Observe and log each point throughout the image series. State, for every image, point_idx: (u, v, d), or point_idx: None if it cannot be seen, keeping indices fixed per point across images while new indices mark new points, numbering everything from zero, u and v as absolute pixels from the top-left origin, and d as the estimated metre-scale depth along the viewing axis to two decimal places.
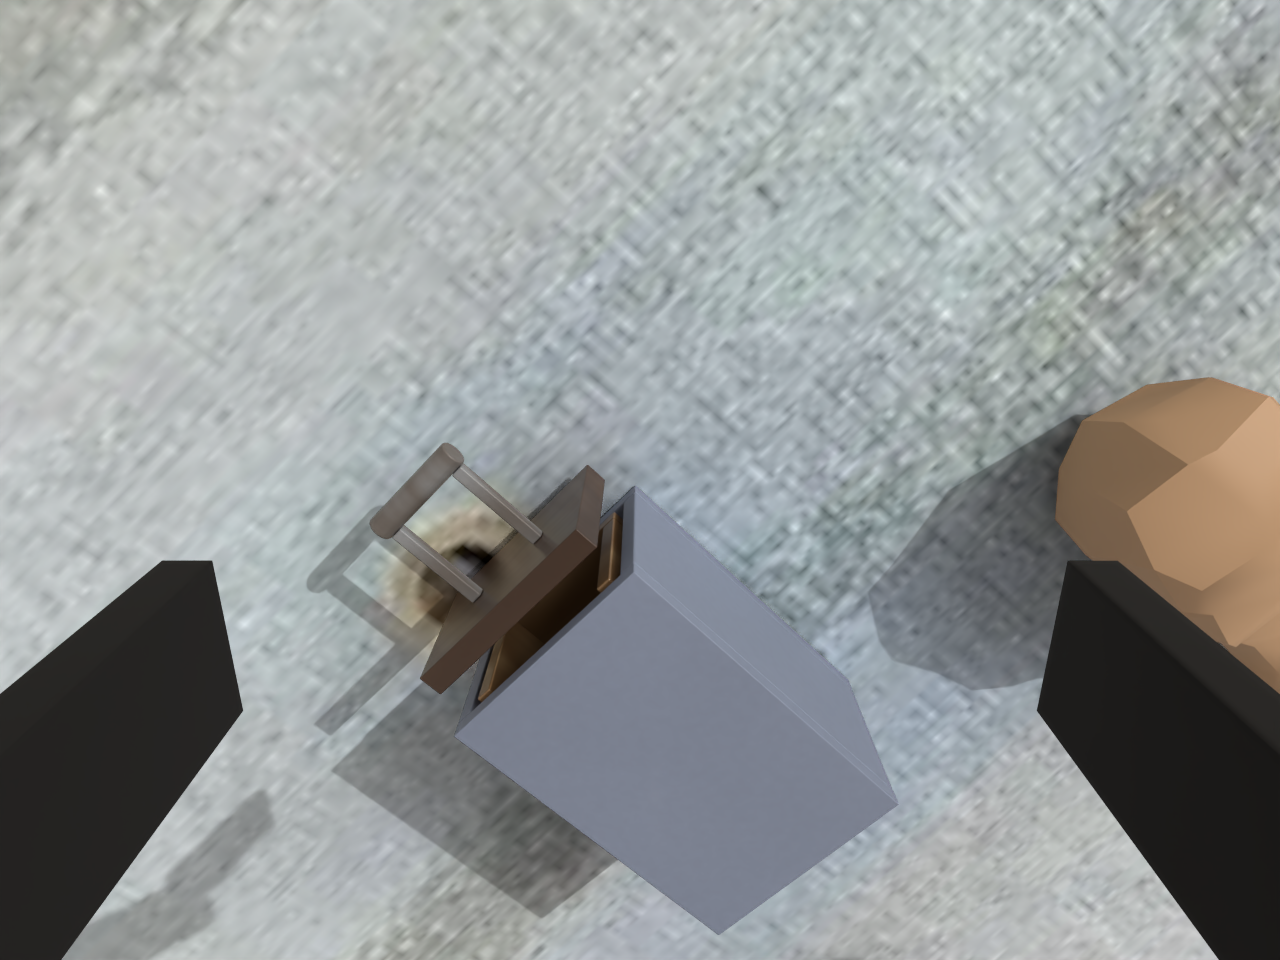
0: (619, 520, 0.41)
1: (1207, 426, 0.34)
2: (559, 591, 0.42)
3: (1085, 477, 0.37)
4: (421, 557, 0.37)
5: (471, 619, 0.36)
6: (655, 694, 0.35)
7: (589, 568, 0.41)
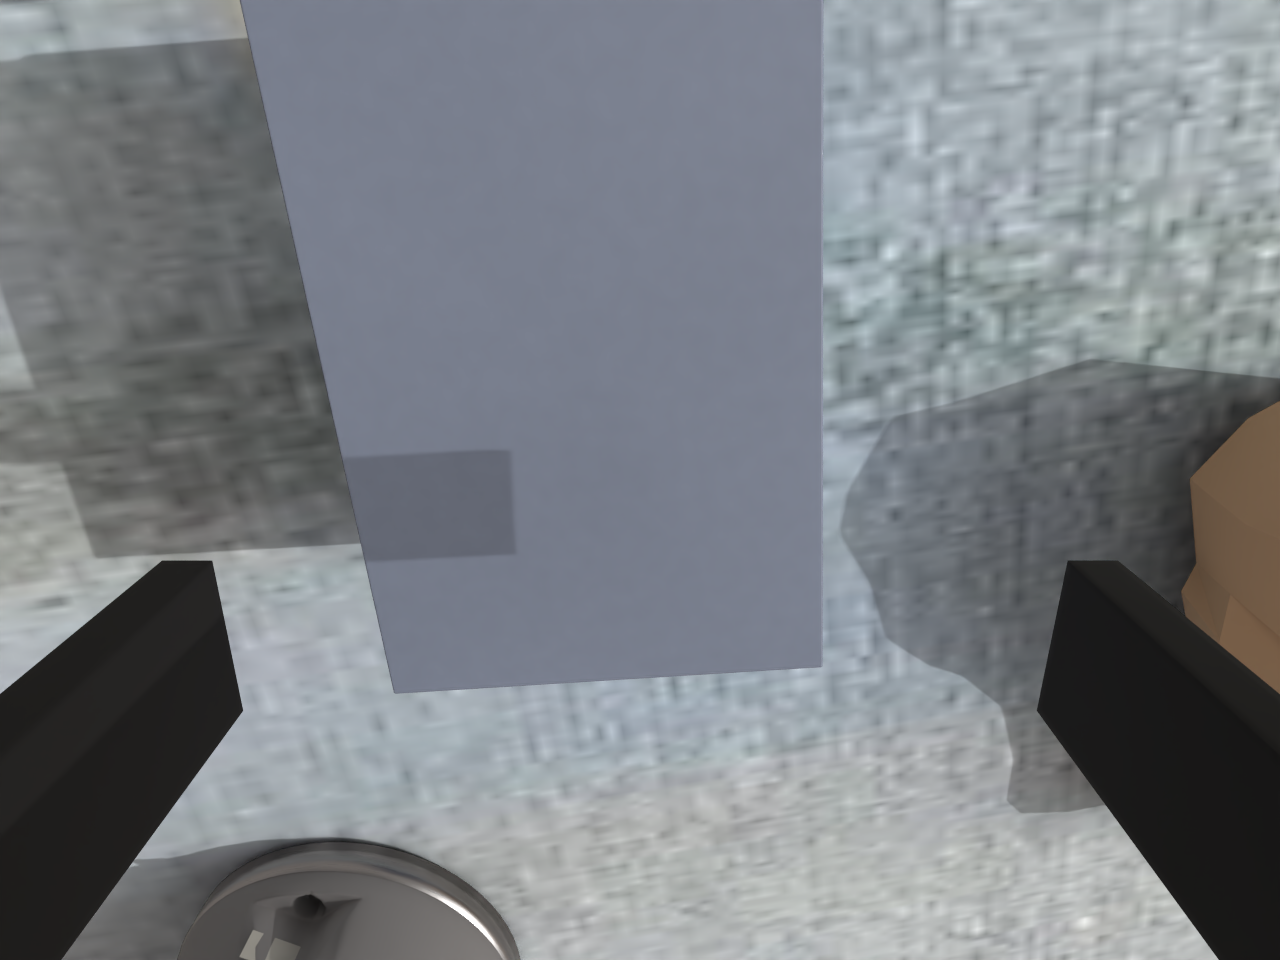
0: None
1: None
2: None
3: None
4: None
5: None
6: (652, 185, 0.17)
7: None
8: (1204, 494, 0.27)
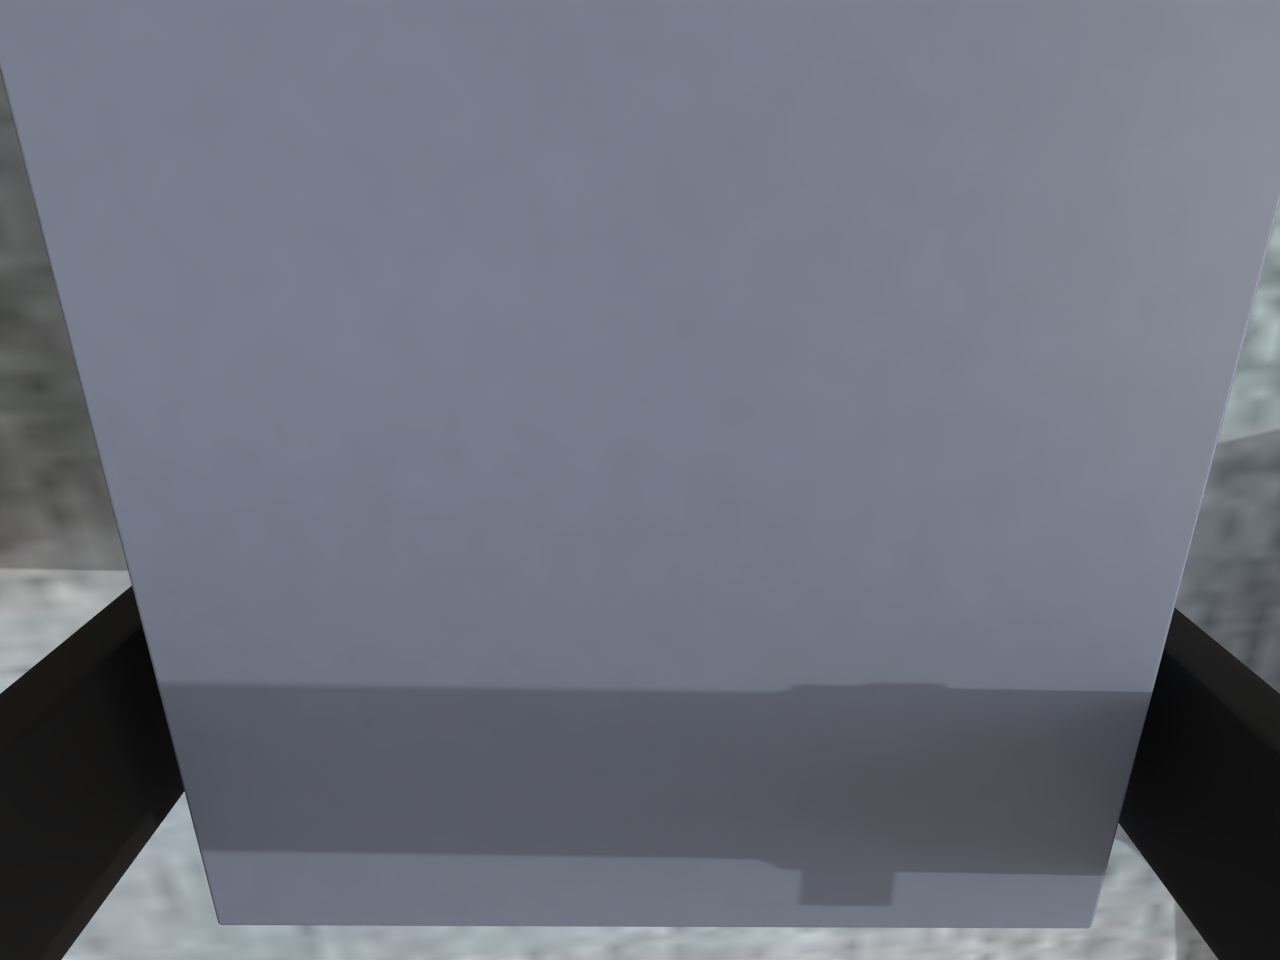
0: None
1: None
2: None
3: None
4: None
5: None
6: None
7: None
8: None
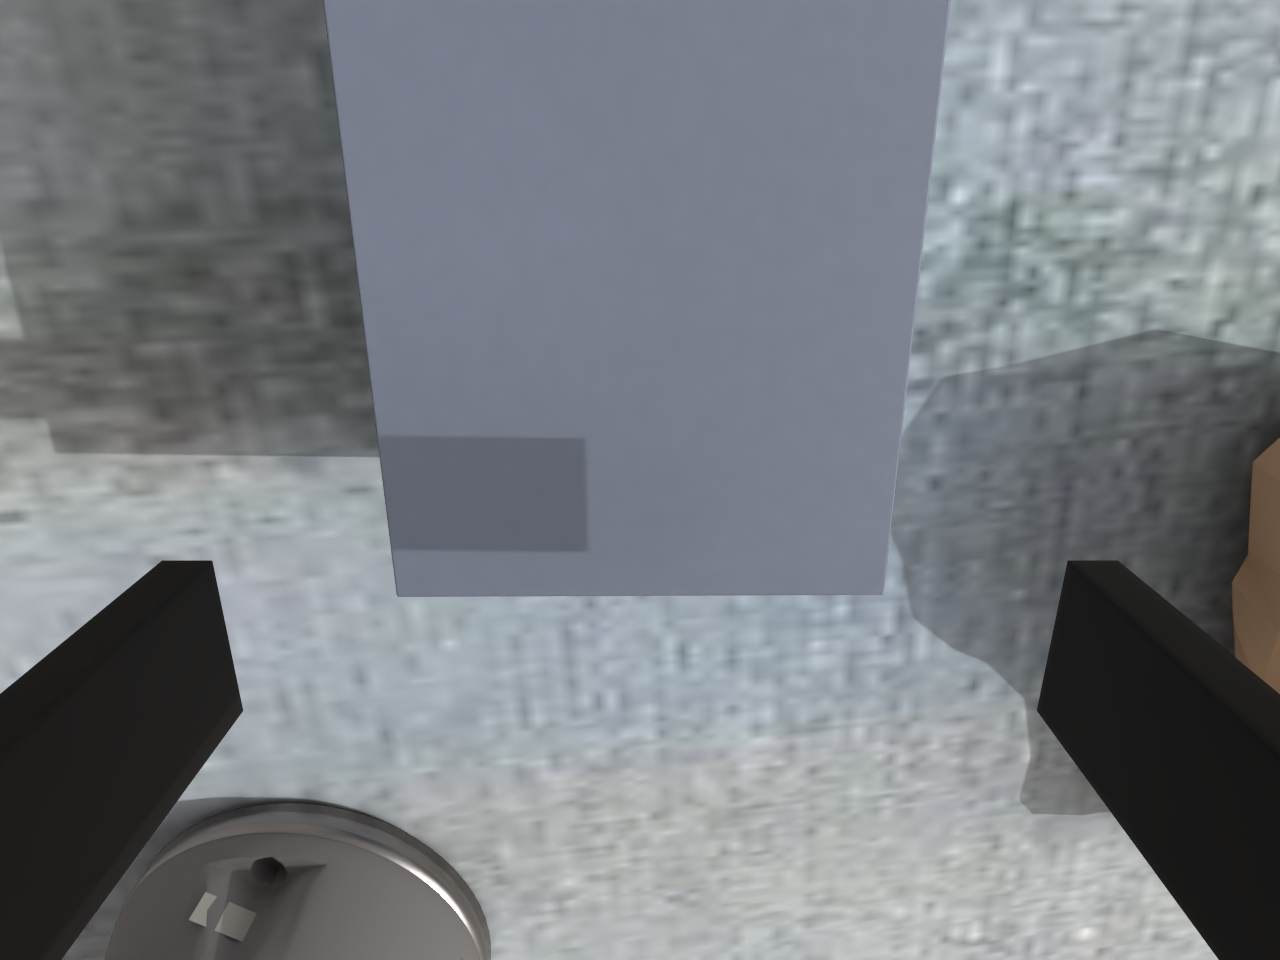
0: None
1: None
2: None
3: None
4: None
5: None
6: (753, 0, 0.15)
7: None
8: (1270, 478, 0.25)
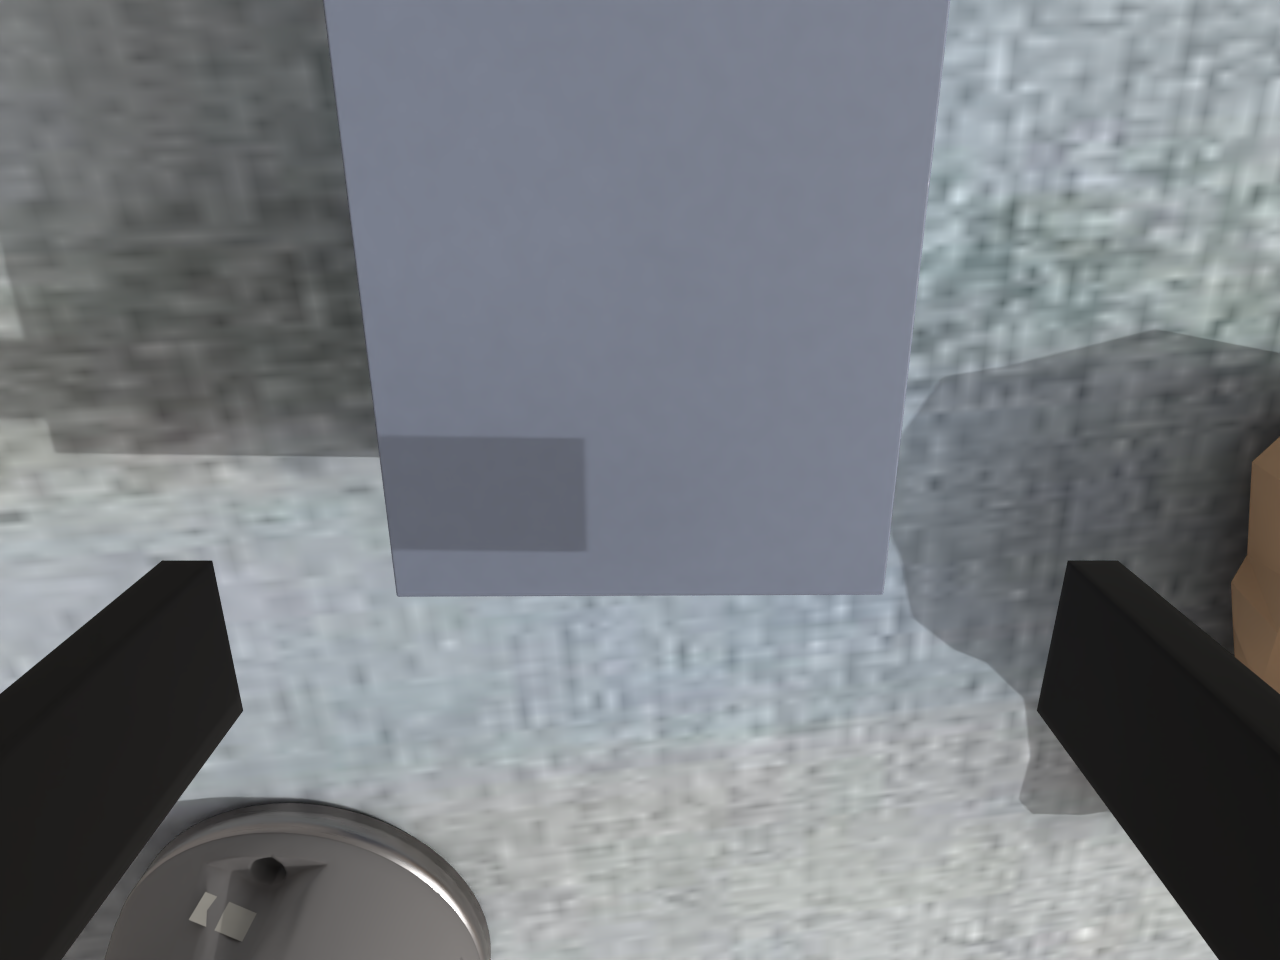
0: None
1: None
2: None
3: None
4: None
5: None
6: (753, 0, 0.15)
7: None
8: (1269, 477, 0.25)
